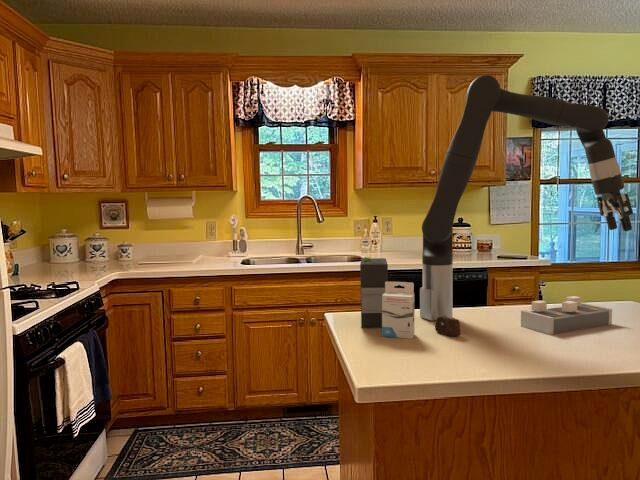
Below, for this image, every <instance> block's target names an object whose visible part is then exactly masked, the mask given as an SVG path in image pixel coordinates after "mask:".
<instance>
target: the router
mask: <svg viewBox="0 0 640 480" xmlns="http://www.w3.org/2000/svg"><path fill="white" fill-rule="evenodd" d="M359 265H360V266H359V267H360V269H359V272H360V274H359V275H360V315H361V316H360V321H361V323H360V324H361V326H360V328H362V329H364V328H365V329H382V295H383V294H384V293H385V282H389V280H388V279H389V278H388V277H389V273H388V272H389V271H388V269H389V267H388V261H387V258H385V257H384V258H372V257H371V256H370V257H366V256H364V258H361V259H360V264H359Z"/></svg>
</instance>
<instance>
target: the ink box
mask: <svg viewBox="0 0 640 480" xmlns="http://www.w3.org/2000/svg"><path fill="white" fill-rule="evenodd" d="M414 285H415V284H414V282H413V281H412V282H407V281H388V282H385V293H384V294H383V295H382V328H381V333H382V334H381V335H382V336H381V337H385V338H395V339H396V338H398V339H409V340H410V339H411V340H412V339H413V338H414V335H415V292H414V290H415V289H414V287H415V286H414ZM398 286H401V287H404V288H401V287H398Z"/></svg>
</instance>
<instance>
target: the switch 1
mask: <svg viewBox="0 0 640 480" xmlns="http://www.w3.org/2000/svg"><path fill="white" fill-rule="evenodd" d="M547 305H548V304H547V301H543V300H534V301H531V311H538V312H539V311H546V310H547V309H548V307H547Z"/></svg>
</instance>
